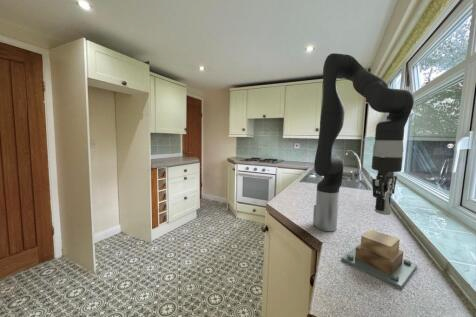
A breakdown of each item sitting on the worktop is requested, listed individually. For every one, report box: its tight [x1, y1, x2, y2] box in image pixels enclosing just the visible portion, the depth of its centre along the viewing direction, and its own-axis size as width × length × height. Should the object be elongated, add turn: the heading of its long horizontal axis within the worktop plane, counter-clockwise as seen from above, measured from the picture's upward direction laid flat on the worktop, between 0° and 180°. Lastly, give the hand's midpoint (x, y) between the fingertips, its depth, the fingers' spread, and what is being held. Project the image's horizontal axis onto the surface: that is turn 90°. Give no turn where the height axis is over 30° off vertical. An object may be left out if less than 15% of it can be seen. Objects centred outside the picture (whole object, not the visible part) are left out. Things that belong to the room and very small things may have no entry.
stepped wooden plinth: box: [355, 229, 404, 275], centre depth 65 cm, size 10×10×8 cm
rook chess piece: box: [374, 188, 392, 216], centre depth 63 cm, size 4×4×8 cm
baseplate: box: [340, 247, 418, 290], centre depth 65 cm, size 16×16×2 cm
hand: (382, 208), depth 64 cm, fingers closed on rook chess piece, 4 cm apart
